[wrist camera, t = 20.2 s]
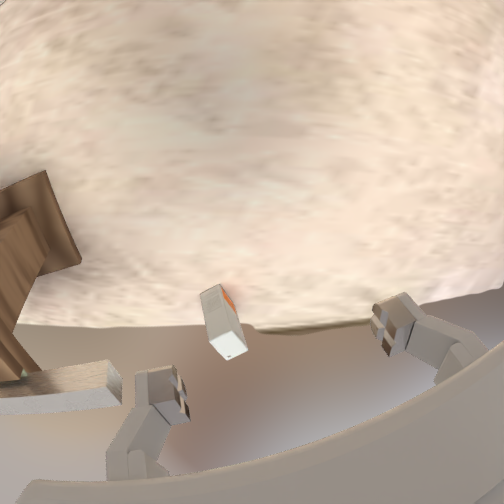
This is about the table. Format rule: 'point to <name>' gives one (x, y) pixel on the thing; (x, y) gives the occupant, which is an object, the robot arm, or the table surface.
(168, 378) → the robot arm
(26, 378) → the aluminium bar
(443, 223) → the table surface
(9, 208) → the walnut pedestal
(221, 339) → the skincare box
